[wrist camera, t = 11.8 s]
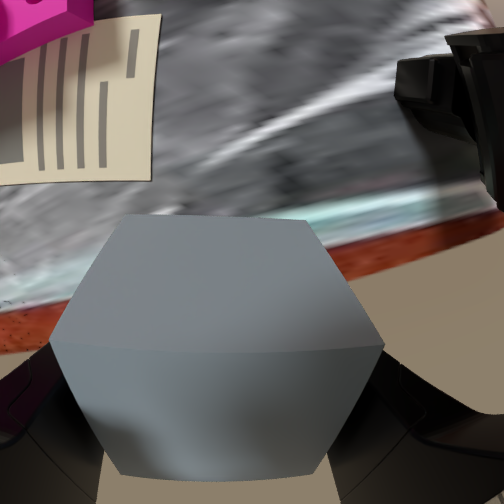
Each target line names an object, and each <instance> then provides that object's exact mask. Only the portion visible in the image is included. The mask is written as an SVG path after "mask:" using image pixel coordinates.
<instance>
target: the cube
mask: <svg viewBox="0 0 504 504" xmlns="http://www.w3.org/2000/svg"><path fill="white" fill-rule="evenodd" d="M49 341H50V344H51V346H52V349H53V351H54V354H55V356H56V358H57V361H58V363H59V365H60V368H61V370H62V372H63V374H64V376H65V379H66V381H67V383H68V385H69V387H70V389H71V391H72V393H73V395H74V397H75V399H76V401H77V403H78V405H79V407H80V409H81V411H82V412H83V414H84V416H85V418H86V420H87V422H88V423H89V425H90V427H91V429H92V430H93V432H94V434H95V435H96V437H97V439H98V440H99V442H100V444H101V445H102V447H103V448H104V450H105V452H106V453H107V455H108V456H109V458H110V459H111V461H112V462H113V464H114V465H115V467H116V468H117V470H118V471H119V473H120V474H121V475H128V476H135V477H143V478H152V479H163V480H177V481H203V482H205V481H206V482H208V481H209V482H210V481H211V482H213V481H214V482H218V481H219V482H225V481H252V480H265V479H277V478H287V477H295V476H302V475H310V474H313V473H314V471H315V470H316V468H317V467H318V465H319V464H320V462H321V460H322V459H323V458H324V456H325V455H326V453H327V452H328V450H329V448H330V447H331V445H332V444H333V442H334V440H335V439H336V437H337V435H338V434H339V432H340V430H341V429H342V427H343V425H344V424H345V422H346V420H347V418H348V417H349V415H350V413H351V411H352V409H353V408H354V406H355V404H356V402H357V400H358V398H359V397H360V395H361V393H362V391H363V389H364V387H365V385H366V383H367V381H368V379H369V377H370V375H371V373H372V371H373V369H374V367H375V365H376V363H377V361H378V359H379V357H380V354H381V352H382V350H383V348H384V345H385V343H384V342H383V340H382V338H381V337H380V335H379V333H378V332H377V330H376V328H375V327H374V325H373V323H372V322H371V320H370V318H369V317H368V315H367V313H366V312H365V310H364V309H363V307H362V305H361V304H360V302H359V301H358V299H357V297H356V296H355V294H354V293H353V291H352V289H351V288H350V286H349V285H348V283H347V282H346V280H345V278H344V277H343V275H342V274H341V272H340V271H339V269H338V268H337V266H336V265H335V263H334V261H333V260H332V258H331V257H330V255H329V254H328V252H327V251H326V249H325V248H324V246H323V245H322V243H321V242H320V240H319V239H318V237H317V236H316V234H315V233H314V232H313V230H312V229H311V227H310V226H309V224H308V223H307V221H306V220H291V219H272V218H250V217H225V216H195V215H152V214H126V215H125V216H124V217H123V219H122V220H121V222H120V223H119V225H118V226H117V227H116V229H115V230H114V232H113V233H112V235H111V236H110V238H109V239H108V241H107V242H106V244H105V245H104V247H103V248H102V250H101V251H100V253H99V254H98V256H97V257H96V259H95V260H94V262H93V264H92V265H91V267H90V268H89V270H88V272H87V273H86V275H85V276H84V278H83V280H82V281H81V283H80V285H79V286H78V288H77V290H76V291H75V293H74V295H73V296H72V298H71V300H70V302H69V303H68V305H67V307H66V309H65V310H64V312H63V314H62V316H61V318H60V319H59V321H58V323H57V325H56V327H55V329H54V331H53V332H52V334H51V336H50V338H49Z"/></svg>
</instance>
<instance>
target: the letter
mask: <svg viewBox="0 0 504 504" xmlns="http://www.w3.org/2000/svg"><path fill="white" fill-rule="evenodd" d="M160 22H161V14H154V15H140V16H129V17H119V18H111V19H104V20H97V21H94V26H91V27H88V28H85V29H82V30H79V31H76V32H74V33H71V34H68V35H66V36H63V37H61V38H58V39H56V40H53V41H51V42H48V43H46V44H44V45H42V46H39V47H37V48H35V49H33V50H31V51H29V52H26V53H24V54H22V55H20V56H18V57H16V58H14V59H12V60H11V61H9V62H7V63H5V64H3V65H1V66H0V185H11V184H26V183H43V182H66V181H106V180H151V134H152V110H153V93H154V79H155V67H156V57H157V47H158V38H159V30H160Z"/></svg>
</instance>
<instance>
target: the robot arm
mask: <svg viewBox="0 0 504 504" xmlns="http://www.w3.org/2000/svg"><path fill="white" fill-rule="evenodd" d="M444 37H445V39H446V42H447V45H450V48H451V51H452V53H449V54H433V55H426V56H423V57H419V58H409V59H402V60H399V61H398V62H397V72H396V81H395V90H394V97H395V99H396V100H399V101H401V104H402V105H403V106H404V107H408V108H410V109H411V110H412V112H413V114H414V116H415V117H416V119H417V120H418V122H419V123H420V124H421V125H422V126H423V127H425V128H426V129H428V130H429V131H432V132H434V133H438V134H441V135H445V136H448V137H452V138H455V139H458V140H461V141H465V142H468V143H471V144H474V145H477V148H478V154H479V160H480V167H481V171H480V177H481V181H482V182H483V183H484V184H485V185H486V189H487V192H488V193H489V194H490V195H491V197H492V198H493V199H494V200H495V201H496V202H497V208H498V209H499V210H500V211H502V212H504V27H499V28H487V29H480V30H474V31H468V32H462V33H457V34H451V35H446V36H444ZM103 455H104V448H103V447H102V445H101V444H100V442H99V440H98V439H97V437H96V435H95V434H94V432H93V430H92V429H91V427H90V425H89V423H88V422H87V420H86V418H85V416H84V414H83V412H82V411H81V409H80V407H79V405H78V403H77V401H76V399H75V397H74V395H73V393H72V391H71V389H70V387H69V385H68V383H67V381H66V379H65V376H64V374H63V372H62V370H61V368H60V365H59V363H58V361H57V358H56V356H55V354H54V351H53V349H52V346H51V344H50V342H48V343H47V344H46V345H45V346H43V347H42V348H41V349H39V350H38V351H37V352H36V353H34V354H33V355H32V356H31V357H30V358H29V359H27V360H26V361H24V362H23V363H22V364H21V365H20V366H18V367H17V368H15V369H14V370H13V371H12V372H10V373H9V374H8V375H6V376H5V377H4V378H3V379H1V380H0V504H96V503H95V502H96V499H97V492H98V485H99V478H100V472H101V466H102V460H103ZM327 455H328V459H329V462H330V466H331V469H332V473H333V477H334V480H335V484H336V487H337V491H338V495H339V498H340V501H341V504H504V414H499V415H498V414H497V415H491V414H484V413H480V412H477V411H475V410H473V409H471V408H469V407H467V406H466V405H464V404H463V403H461V402H459V401H458V400H456V399H454V398H453V397H451V396H449V395H447V394H446V393H444V392H443V391H441V390H439V389H438V388H436V387H434V386H433V385H431V384H430V383H428V382H427V381H425V380H424V379H422V378H421V377H419V376H418V375H416V374H415V373H414V372H412V371H411V370H409V369H408V368H407V367H405V366H404V365H402V364H400V362H398V361H397V360H396V359H394V358H393V357H392V356H390V355H389V354H387V353H386V352H385V351H384V350H382V352H381V354H380V357H379V359H378V361H377V363H376V365H375V367H374V369H373V371H372V373H371V375H370V377H369V379H368V381H367V383H366V385H365V387H364V389H363V391H362V393H361V395H360V397H359V398H358V400H357V402H356V404H355V406H354V408H353V409H352V411H351V413H350V415H349V417H348V418H347V420H346V422H345V424H344V425H343V427H342V429H341V430H340V432H339V434H338V435H337V437H336V439H335V440H334V442H333V444H332V445H331V447H330V448H329V450H328V452H327Z"/></svg>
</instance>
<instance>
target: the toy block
mask: <svg viewBox="0 0 504 504" xmlns="http://www.w3.org/2000/svg"><path fill="white" fill-rule="evenodd" d="M91 26H94V13H93V0H0V66H1V65H3V64H5V63H7V62H9V61H11V60H12V59H14V58H16V57H18V56H20V55H22V54H24V53H26V52H29V51H31V50H33V49H35V48H37V47H39V46H42V45H44V44H46V43H48V42H51V41H53V40H56V39H58V38H61V37H63V36H66V35H68V34H71V33H74V32H76V31H79V30H82V29H85V28H88V27H91Z"/></svg>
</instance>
